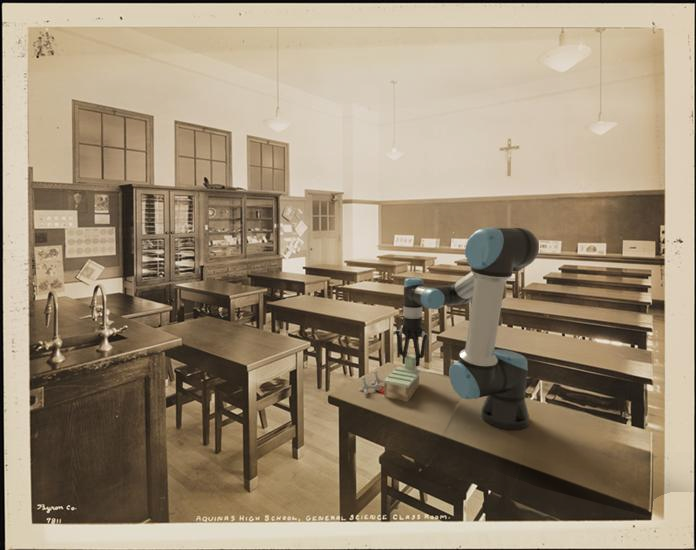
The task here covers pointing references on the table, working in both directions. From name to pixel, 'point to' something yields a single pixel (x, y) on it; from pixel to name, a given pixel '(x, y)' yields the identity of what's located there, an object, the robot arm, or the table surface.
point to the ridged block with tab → (404, 373)
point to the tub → (401, 390)
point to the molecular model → (376, 386)
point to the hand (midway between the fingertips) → (410, 372)
